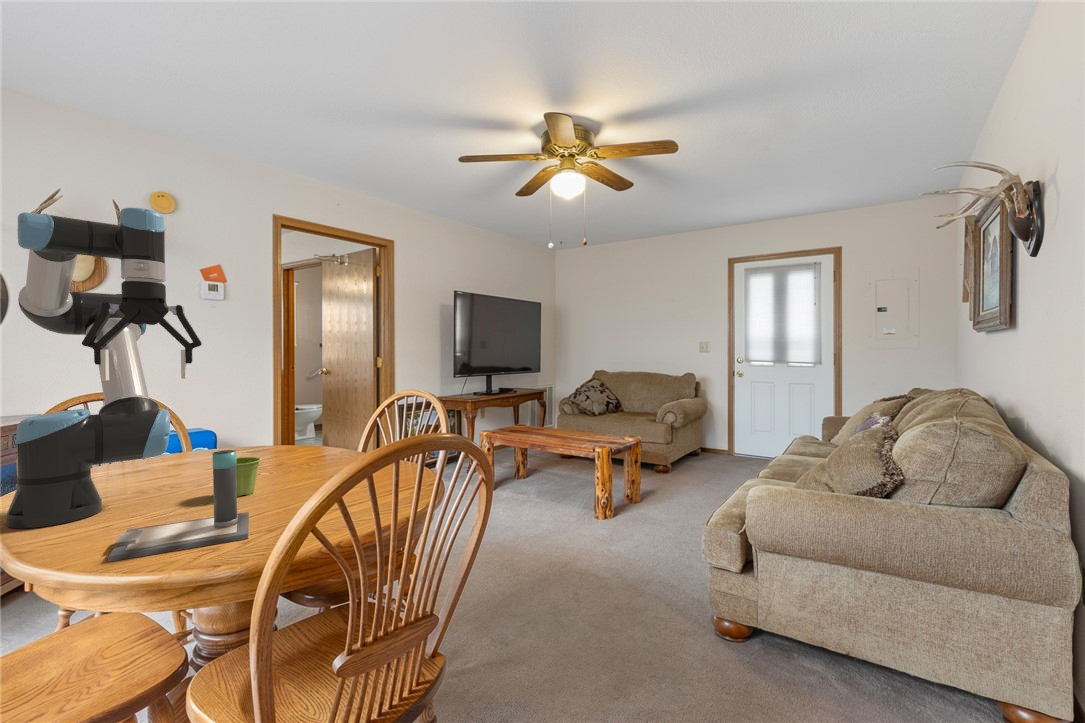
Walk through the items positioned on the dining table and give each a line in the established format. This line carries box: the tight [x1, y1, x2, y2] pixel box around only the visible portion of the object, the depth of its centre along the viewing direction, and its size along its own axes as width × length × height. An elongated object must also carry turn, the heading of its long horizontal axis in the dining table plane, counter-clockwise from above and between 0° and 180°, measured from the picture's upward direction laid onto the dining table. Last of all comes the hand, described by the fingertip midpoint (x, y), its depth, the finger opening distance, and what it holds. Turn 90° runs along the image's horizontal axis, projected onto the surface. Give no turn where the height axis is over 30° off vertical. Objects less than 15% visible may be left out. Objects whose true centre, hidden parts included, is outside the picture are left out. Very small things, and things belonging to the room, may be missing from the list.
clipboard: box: [108, 511, 250, 563], centre depth 98 cm, size 21×15×2 cm
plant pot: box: [236, 456, 262, 498], centre depth 128 cm, size 9×9×9 cm
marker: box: [212, 449, 238, 528], centre depth 101 cm, size 4×4×15 cm
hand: (145, 379), depth 108 cm, fingers open, 13 cm apart
